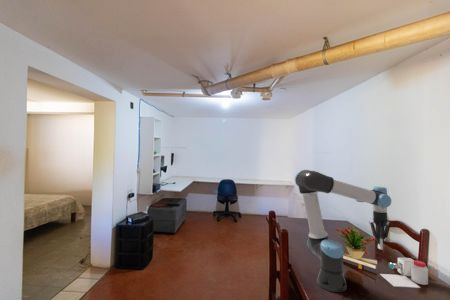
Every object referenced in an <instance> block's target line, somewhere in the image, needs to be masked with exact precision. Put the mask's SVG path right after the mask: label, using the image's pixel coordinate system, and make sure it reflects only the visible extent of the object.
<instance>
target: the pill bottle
mask: <svg viewBox="0 0 450 300" xmlns="http://www.w3.org/2000/svg"><path fill="white" fill-rule="evenodd" d="M410 280H411V281H412V282H414V283H415V284H417V285H418V284H419V285H423V286H426V285H429V269H428V267H427V265H426V263H425V262H424V261H422V260H414V263H413V264H412V265H411V276H410Z"/></svg>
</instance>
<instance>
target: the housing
mask: <svg viewBox="0 0 450 300" xmlns="http://www.w3.org/2000/svg"><path fill="white" fill-rule="evenodd" d="M414 261H415V260H414V259H413V258H411V257H397V264H403V269H397V272H398V273H399V274H400V275H404V276H406V277H411V265H412V264H413V263H414Z"/></svg>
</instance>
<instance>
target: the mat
mask: <svg viewBox="0 0 450 300" xmlns="http://www.w3.org/2000/svg"><path fill="white" fill-rule="evenodd" d="M379 275H380V276H381V277H382V278H384V279H385V280H386V281H387V282H388V283H389V284H390V285H392V286H393V287H394V288H411V289H421V286H419V285H418V283H415V282H414V281H412V280H411V278H408V276H404V275H402V274H391V273H390V274H387V273H379Z"/></svg>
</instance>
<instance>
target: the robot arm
mask: <svg viewBox="0 0 450 300" xmlns="http://www.w3.org/2000/svg"><path fill="white" fill-rule="evenodd" d="M294 182H295V185H296V186H297V187H298V192H299V194H301V195H302V198H303V202H304V207H305V208H304V209H305V213H306V219H307V223H308V228H309V233H308V235H307V236H308V239H307V247H308V249H309V250H310V252H312V254H314V255H315V256H316V257H317V258H318V259H319V260H320V269H319V272H318V275H317V279H316V284H317V285H318V286H319V287H321V288H322V289H323V290H326V291H328V292H333V293H342V292H345V291H346V290H347V281H346V278H345V275H344V255H345V254H344V247H343V245H342V244H341V243H340V242H338V241H336V240H334V239H330V238H329V233H328V232H327V231H325V226H324V222H323V218H322V211H321V207H320V202H319V197H318V193H319V192H320V193H325V194H330V193H331V194H334V195H338V196H341V197H345V198H349V199H353V200H355V202H358V203H366V204H370V205H372V209H373V211H372V220H371V221H368V223H369V225H370V229H371V233H372V236H373V237H374V238H376V244H377V249H379V250H382V251H383V249H384V248H383V247H384V244H385V240H386V239H387V238H388V236H389V232H390V228H391V226H392V224H393V223H391V222H389V221H388V207H390V206H391V204H392V198H391V197H390V195H388V189H387V187H385V186H373V187H372V189H368V188H363V187H360V186H357V185H353V184H349V183H347V182H343V181H340V180H337V179H334V177H332V176H329V175H326V174H324V173H321V172H319V171H315V170H309V169H301V170H300V171H298V172H297V173H296V174H295V177H294Z"/></svg>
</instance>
